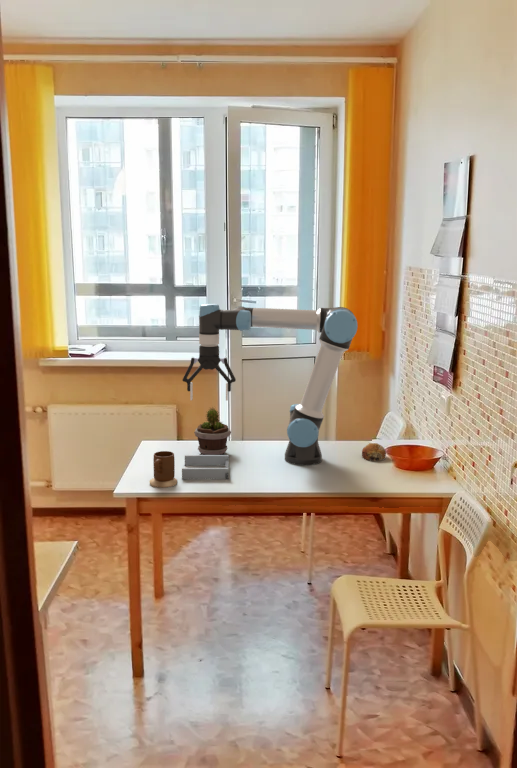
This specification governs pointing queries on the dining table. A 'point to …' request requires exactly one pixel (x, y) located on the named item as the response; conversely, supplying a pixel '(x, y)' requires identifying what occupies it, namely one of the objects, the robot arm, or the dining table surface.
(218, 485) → the dining table surface
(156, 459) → the mug
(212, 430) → the flowerpot
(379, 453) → the bread roll
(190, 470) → the u-shaped frame
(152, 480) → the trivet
